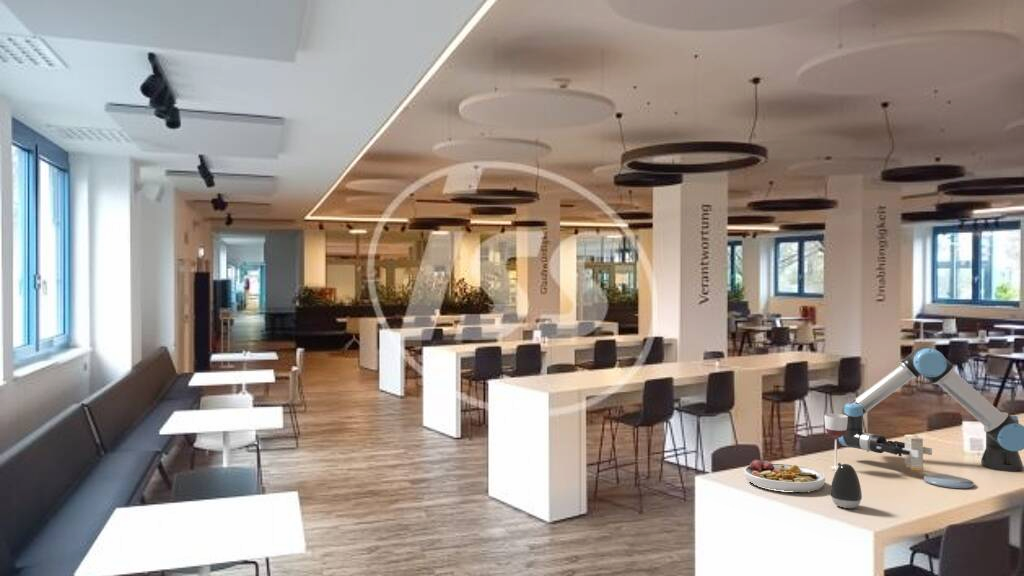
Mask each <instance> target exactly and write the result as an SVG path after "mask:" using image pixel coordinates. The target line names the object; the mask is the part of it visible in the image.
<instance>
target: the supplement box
mask: <svg viewBox="0 0 1024 576" xmlns="http://www.w3.org/2000/svg"><path fill="white" fill-rule="evenodd" d="M923 442H924V438H923V437H921V436H919V435H917V434H904V443H905V448H906V449H912V450H917V451H919V458H917V457H912V456H907V455H904V466H905V467H907V468H908V469H909V470H912V471H914V470H915V471H924V454H923V447H924V443H923Z"/></svg>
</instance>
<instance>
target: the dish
mask: <svg viewBox="0 0 1024 576" xmlns="http://www.w3.org/2000/svg"><path fill="white" fill-rule="evenodd" d="M923 480H924V482H925V483H928V484H931V485H934V486H938V487H943V488H944V487H945V488H950V489H951V488H952V489H971V488H973V487H974V486H975V484H974V482H973V480H971V479H967V478H964V477H960V476H955V475H950V474H927V475H924V476H923Z"/></svg>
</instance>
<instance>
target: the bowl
mask: <svg viewBox="0 0 1024 576" xmlns="http://www.w3.org/2000/svg"><path fill="white" fill-rule="evenodd" d="M743 473H744V477H745V479H746V481H748V483H750V482H751V483H753V484H755V485H758V486H761V487H765V488H770V489H776V490H784V491H793V492H808V491H813V492H816V491H818V490H820V489H821V488H822V487H823V486H824V485H825V483H826V476H825V474H824V473H822V472H820V471H818V470H816V469H813V468H809V467H805V466H802V465H800V466H799V465H797V464H786V463H772V462H771V461H769V460H763V461H761V460H760V459H754V460H752V461H750V463H749V465H747V466H745V468H744V469H743ZM751 483H750V484H751ZM753 484H752V485H753ZM815 490H816V491H815ZM808 493H809V492H808Z"/></svg>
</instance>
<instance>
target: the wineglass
mask: <svg viewBox="0 0 1024 576" xmlns="http://www.w3.org/2000/svg"><path fill="white" fill-rule="evenodd" d="M823 419H824V427H825V428H824V429H825V431H826V433H827V434H828V435H829V436H830V437H832V438H833V439H834V466H831V467H832V468H835V469H836V468H838V467H839V466H838V440H839V439H838V438H840V437H842V436H843V435H844V434H845V433H846V430H847V422H848V416H846V415H843V414H842V413H841V414H840V413H825V414H824V417H823Z"/></svg>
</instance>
